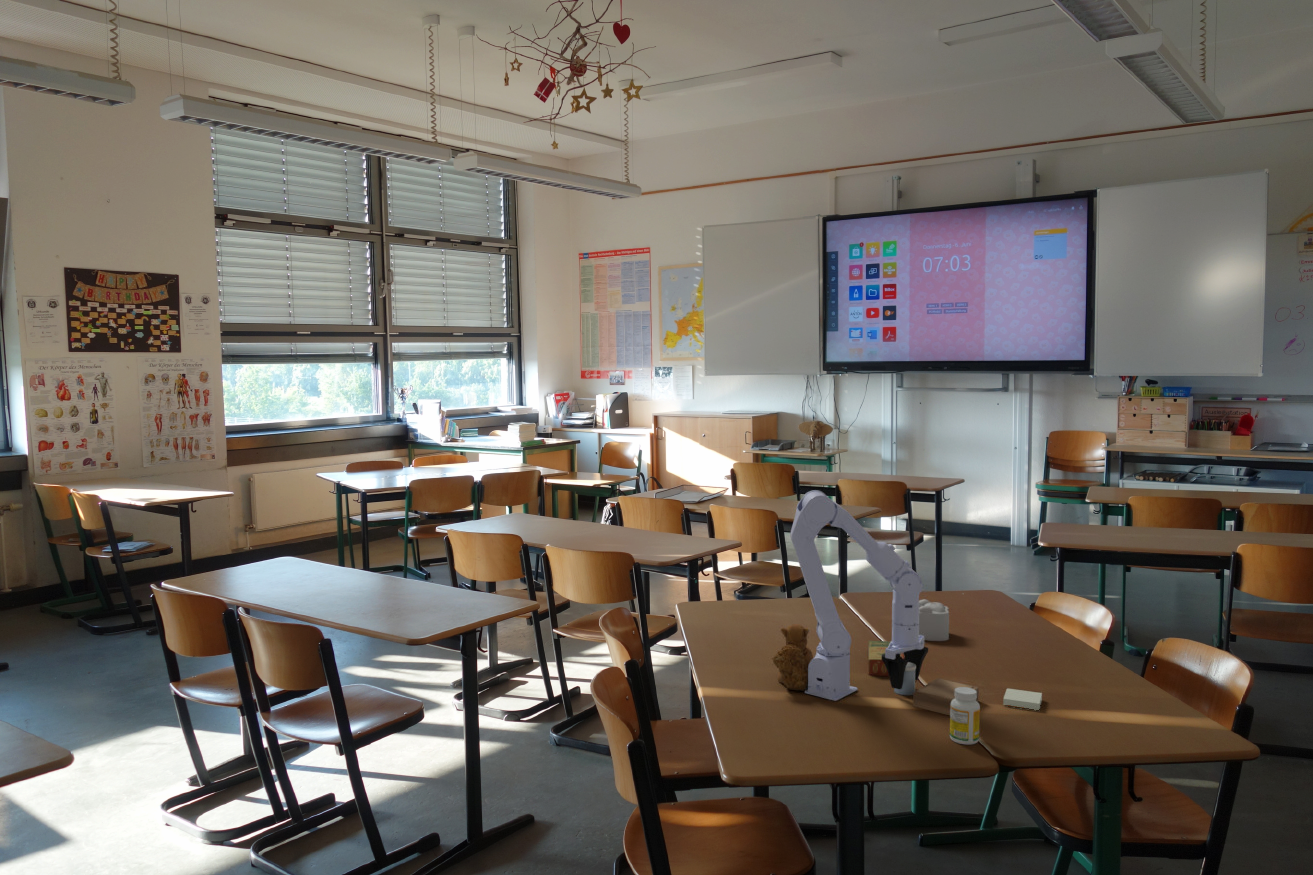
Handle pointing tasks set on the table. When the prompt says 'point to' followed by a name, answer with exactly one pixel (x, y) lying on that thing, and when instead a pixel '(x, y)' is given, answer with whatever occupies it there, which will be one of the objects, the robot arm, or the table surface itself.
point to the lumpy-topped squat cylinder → (933, 621)
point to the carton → (877, 658)
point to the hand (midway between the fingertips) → (904, 683)
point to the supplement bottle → (964, 716)
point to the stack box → (938, 695)
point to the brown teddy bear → (794, 658)
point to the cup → (908, 680)
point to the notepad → (1022, 699)
